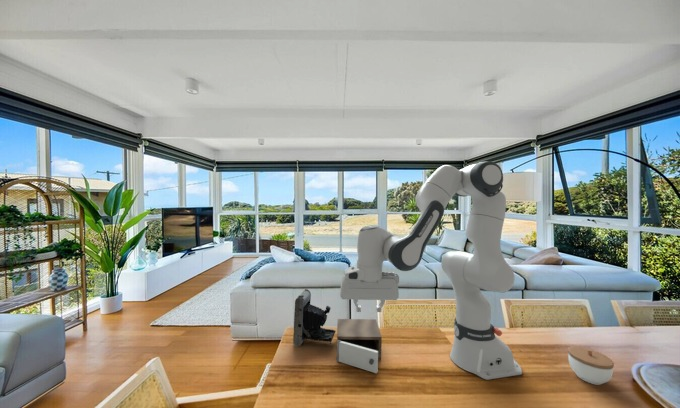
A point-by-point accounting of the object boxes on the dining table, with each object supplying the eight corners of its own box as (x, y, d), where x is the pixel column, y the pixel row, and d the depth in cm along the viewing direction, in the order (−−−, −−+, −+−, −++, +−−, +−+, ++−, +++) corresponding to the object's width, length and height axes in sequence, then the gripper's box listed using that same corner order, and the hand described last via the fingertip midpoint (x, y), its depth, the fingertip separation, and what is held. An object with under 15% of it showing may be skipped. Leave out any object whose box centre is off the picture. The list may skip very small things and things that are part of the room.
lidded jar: (558, 366, 88) (559, 340, 88) (589, 367, 87) (590, 341, 87) (587, 389, 77) (589, 360, 77) (623, 391, 77) (624, 361, 77)
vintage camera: (330, 353, 94) (333, 301, 94) (291, 346, 97) (294, 295, 97) (335, 339, 103) (338, 292, 103) (300, 333, 106) (303, 287, 106)
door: (377, 372, 83) (378, 350, 83) (376, 376, 81) (376, 353, 81) (337, 359, 89) (338, 339, 89) (335, 362, 87) (335, 342, 87)
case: (375, 339, 103) (376, 319, 102) (381, 360, 90) (381, 336, 89) (337, 339, 102) (337, 318, 102) (337, 359, 89) (337, 336, 89)
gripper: (397, 269, 89) (396, 307, 89) (340, 268, 89) (339, 306, 89) (401, 275, 83) (400, 316, 83) (340, 274, 83) (339, 315, 83)
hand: (368, 311), depth 86 cm, fingers open, 6 cm apart
